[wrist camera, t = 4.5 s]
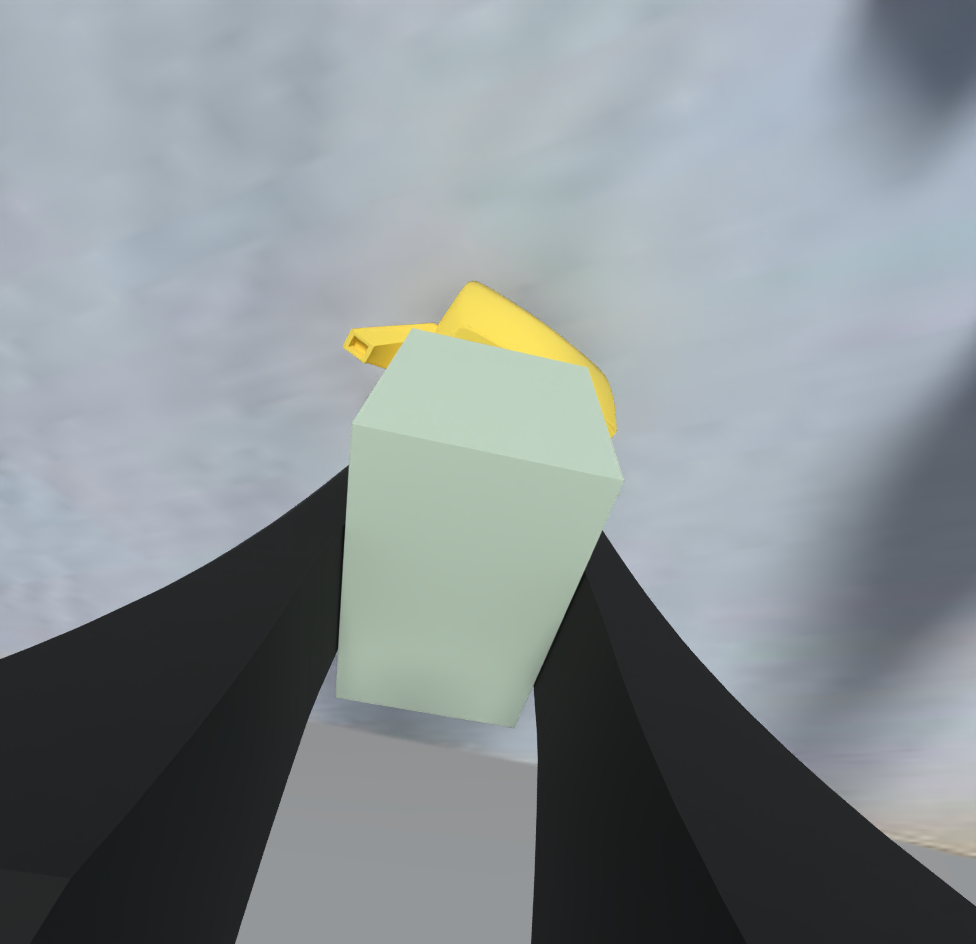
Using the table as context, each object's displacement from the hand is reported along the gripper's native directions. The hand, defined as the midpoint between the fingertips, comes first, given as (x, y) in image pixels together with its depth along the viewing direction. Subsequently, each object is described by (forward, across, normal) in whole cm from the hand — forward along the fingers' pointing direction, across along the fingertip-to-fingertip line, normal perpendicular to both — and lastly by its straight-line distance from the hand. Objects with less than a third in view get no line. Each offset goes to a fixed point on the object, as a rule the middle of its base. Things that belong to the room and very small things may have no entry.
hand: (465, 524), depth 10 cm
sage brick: (+2, 0, 0) cm, 2 cm away
